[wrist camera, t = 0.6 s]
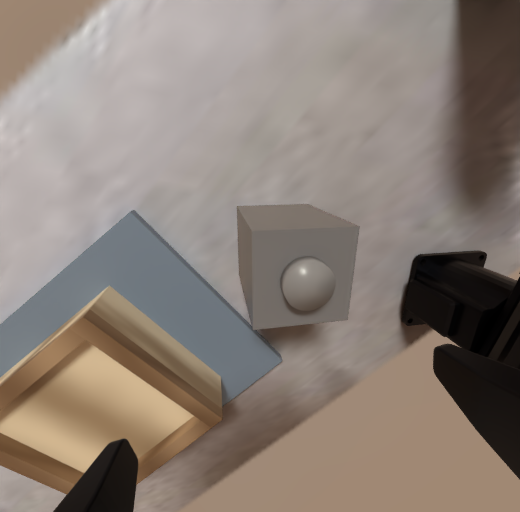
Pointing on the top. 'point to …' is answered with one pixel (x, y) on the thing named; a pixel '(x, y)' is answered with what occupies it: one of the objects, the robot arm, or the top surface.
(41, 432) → the wooden tray
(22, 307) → the board
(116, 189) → the top surface
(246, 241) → the block
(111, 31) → the top surface
